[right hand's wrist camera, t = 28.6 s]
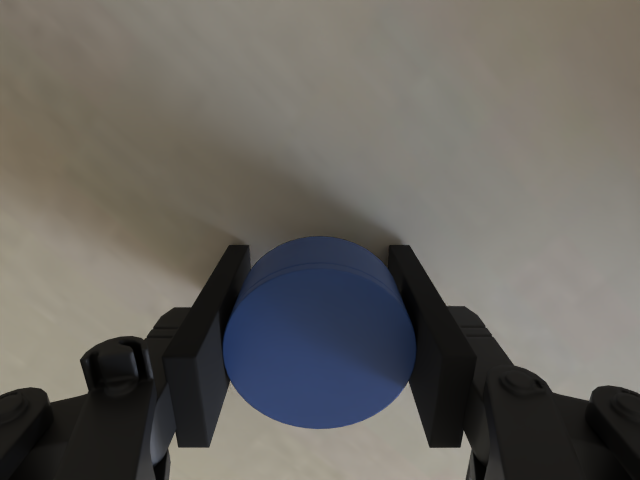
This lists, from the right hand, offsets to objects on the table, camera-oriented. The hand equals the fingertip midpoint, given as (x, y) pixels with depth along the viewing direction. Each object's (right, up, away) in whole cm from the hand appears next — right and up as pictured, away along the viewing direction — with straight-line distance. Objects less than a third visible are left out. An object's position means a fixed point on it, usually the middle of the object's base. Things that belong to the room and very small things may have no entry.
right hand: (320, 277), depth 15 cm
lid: (0, -2, -4) cm, 4 cm away
